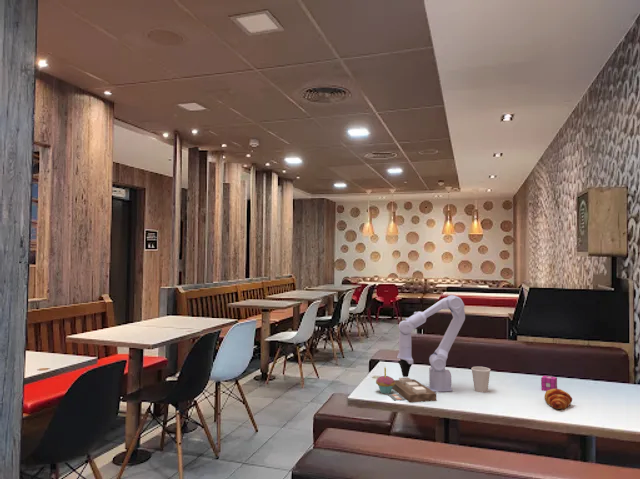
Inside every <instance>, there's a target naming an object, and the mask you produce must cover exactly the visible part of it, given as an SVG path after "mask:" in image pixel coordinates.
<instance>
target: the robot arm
mask: <svg viewBox="0 0 640 479" xmlns="http://www.w3.org/2000/svg"><path fill="white" fill-rule="evenodd" d="M441 310H449V311H450V313H451V315H452V319H451V321H450V323H449V325H448V327H447V329H446V331H445V332H444V335H443V336H442V338H441V340H440V343H439V345H438V347H437V348H436V349H435V350H434V352H433V353H432V354H430V355H429V358H428V362H429V365H430V367H429V372H428V374H429V377H428V378H429V384H428V386H425V387H427V388H428V389H430V390H432V391H433V392H435V393H440V392H453V389H452V373H451V371H450V370H449V369H446V365H447V359H448V357H449V356H448V355H449V352H450V350H451V348H452V345H453V344H454V342H455V340H456V338H457V336H458V334H459V331H460V330H461V328H462V326H463V324H464V322H465V320H466V312H465V311H466V310H465V303H464V301H463V300H462V298H461V297H460V296H457V295H454V294H450V295H448V296H447V297H444V298H441V299H440V300H439V301H437V302H435V303H434V304H433V305H431V306H430V307H428V308H426V309H425V310H424V311H414V312H413V314H412V315H410V316H409V317H405V320H401V321H400V322H399V324H398V330H399V332H398V335H399V336H398V353H397V356H396V359H400V360H397V362H398V365H399V366H400V370H401V374H402V378H406V377H408V378H409V374H410V370H411V367H412V366H413V365H414V359H413V355H412V348H413V347H412V332H413V330H415V329H416V328H419V327H420V326H421V325H423V324H425V323H426V322H427V318H429V317H430V316H433V315H435V314H436V313H438V312H439V311H440V312H441Z"/></svg>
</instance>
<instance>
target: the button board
mask: <svg viewBox="0 0 640 479" xmlns="http://www.w3.org/2000/svg"><path fill="white" fill-rule="evenodd" d="M410 379H411V378H410ZM411 380H412V382H416V383H417V384H419V387H423V388H425V389H426V393H417V394H416V393H415V392H413V391H412V388H408V387H406V384H402V383H401V382H399V379H394V381H395V385H394V386H393V388H392V390H393V391H395V393H396V394H398V393H399V395H401V396H402V397H403V398H405V399H406V400H405V401H408V402H409V403H417V402H419V403H422V402H421V401H423V402H437V392H433V391H432V390H430V389H428V388H427V387H426V386H425V385H424V384H422V383H420V382H419V381H417V380H416V379H415V378H414V379H411Z"/></svg>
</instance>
